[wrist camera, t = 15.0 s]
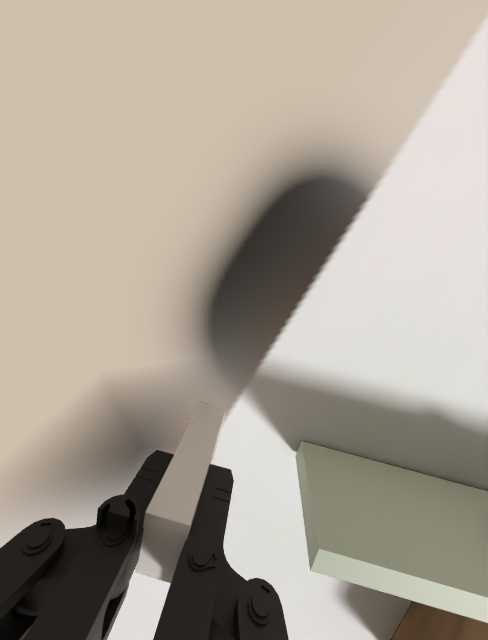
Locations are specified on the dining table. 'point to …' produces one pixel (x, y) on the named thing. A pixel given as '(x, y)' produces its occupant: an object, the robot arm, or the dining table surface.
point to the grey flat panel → (395, 530)
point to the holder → (438, 625)
